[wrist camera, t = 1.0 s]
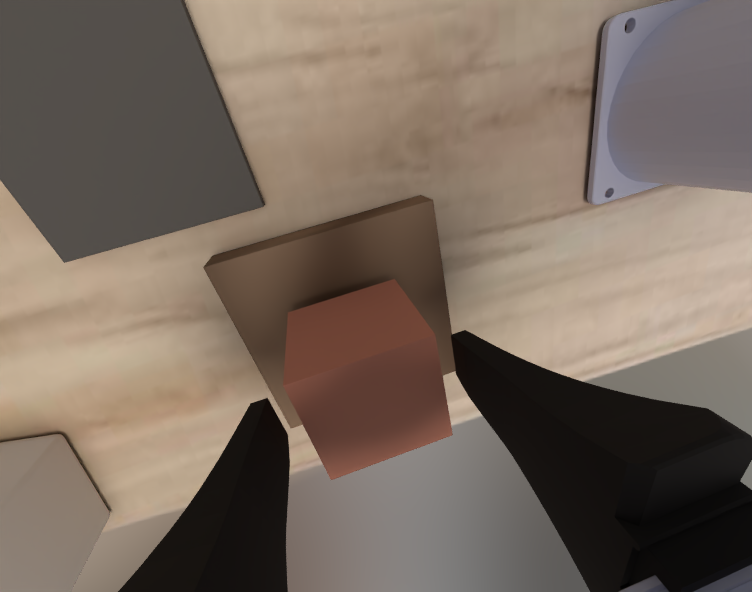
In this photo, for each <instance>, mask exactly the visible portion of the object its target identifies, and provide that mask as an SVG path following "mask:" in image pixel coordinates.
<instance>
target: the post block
mask: <svg viewBox="0 0 752 592" xmlns="http://www.w3.org/2000/svg"><path fill="white" fill-rule="evenodd" d="M203 268H204V270H205V271H206V273H207V275H208V277H209V279H210V281H211V282H212V284H213V286H214V288H215V290H216V292H217V293H218V295H219V297H220V299H221V301H222V303H223V304H224V306H225V308H226V310H227V312H228V314H229V315H230V317H231V319H232V321H233V323H234V325H235V327H236V328H237V330H238V332H239V334H240V336H241V338H242V339H243V341H244V343H245V345H246V347H247V349H248V350H249V352H250V354H251V356H252V358H253V360H254V361H255V363H256V365H257V367H258V369H259V371H260V373H261V374H262V376H263V378H264V380H265V382H266V384H267V385H268V387H269V389H270V391H271V393H272V395H273V396H274V398H275V400H276V402H277V404H278V406H279V407H280V409H281V411H282V413H283V415H284V417H285V418H286V420H287V422H288V424H289V426H290V428H294V427H297V426H300V425H302V422H301V420H300V418H299V416H298V414H297V412H296V410H295V408H294V406H293V404H292V402H291V400H290V398H289V396H288V394H287V393H286V391H285V389H284V387H283V380H284V365H285V350H286V335H287V320H288V312H291V311H294V310H297V309H300V308H304V307H307V306H310V305H313V304H316V303H319V302H323V301H326V300H329V299H332V298H335V297H338V296H342V295H345V294H348V293H351V292H354V291H358V290H361V289H364V288H367V287H370V286H373V285H377V284H380V283H383V282H386V281H389V280H392V279H395V280H396V281H397V283H398V284H399V286H400V287H401V288H402V290H403V291H404V292H405V294H406V295H407V296H408V298H409V299H410V301H411V302H412V303H413V305H414V306H415V307H416V309H417V310H418V312H419V313H420V314H421V316H422V317H423V318H424V320H425V321H426V323H427V324H428V325H429V327H430V328H431V329H432V331H433V332H434V333H435V336H436V341H437V347H438V353H439V359H440V365H441V370H442V375H445V374H448V373H451V372H454V371H456V369H455V362H454V355H453V348H452V341H451V335H452V332H451V325H450V318H449V311H448V303H447V296H446V289H445V282H444V275H443V268H442V261H441V254H440V247H439V240H438V233H437V226H436V219H435V212H434V205H433V200H432V199H429V198H427V197H424V196H421V195H420V196H417V197H413V198H410V199H407V200H403V201H400V202H396V203H393V204H389V205H386V206H382V207H379V208H376V209H372V210H369V211H365V212H362V213H358V214H355V215H352V216H348V217H345V218H341V219H338V220H334V221H331V222H328V223H324V224H321V225H317V226H314V227H310V228H307V229H303V230H300V231H297V232H293V233H290V234H286V235H283V236H279V237H276V238H273V239H269V240H266V241H262V242H259V243H255V244H252V245H249V246H245V247H242V248H238V249H235V250H231V251H228V252H225V253H221V254H218V255H214V256H212V257H211V258H210V260H209V261H208V262H207V263H206V265H205V266H204V267H203Z"/></svg>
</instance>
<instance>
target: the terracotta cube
mask: <svg viewBox="0 0 752 592" xmlns="http://www.w3.org/2000/svg"><path fill="white" fill-rule="evenodd" d="M283 387H284V389H285V391H286V393H287V394H288V396H289V398H290V400H291V402H292V404H293V406H294V408H295V410H296V412H297V414H298V416H299V418H300V420H301V422H302V424H303V426H304V428H305V430H306V432H307V434H308V436H309V437H310V439H311V441H312V443H313V445H314V447H315V449H316V451H317V453H318V455H319V457H320V459H321V461H322V463H323V465H324V467H325V469H326V471H327V473H328V475H329V477H330V479H331V480H333V479H336V478H338V477H341V476H343V475H346V474H349V473H352V472H354V471H357V470H360V469H363V468H365V467H368V466H371V465H373V464H376V463H379V462H381V461H384V460H386V459H389V458H392V457H395V456H397V455H400V454H403V453H405V452H408V451H411V450H414V449H416V448H419V447H422V446H425V445H427V444H430V443H433V442H435V441H438V440H441V439H443V438H446V437H449V436H451V435H452V428H451V422H450V417H449V411H448V405H447V399H446V394H445V388H444V382H443V376H442V370H441V365H440V359H439V353H438V347H437V341H436V336H435V333H434V332H433V331H432V329H431V328H430V327H429V325H428V324H427V323H426V321H425V320H424V318H423V317H422V316H421V314H420V313H419V312H418V310H417V309H416V307H415V306H414V305H413V303H412V302H411V301H410V299H409V298H408V296H407V295H406V294H405V292H404V291H403V290H402V288H401V287H400V286H399V284H398V283H397V281H396V280H395V279H392V280H389V281H386V282H383V283H380V284H377V285H373V286H370V287H367V288H364V289H361V290H358V291H354V292H351V293H348V294H345V295H342V296H338V297H335V298H332V299H329V300H326V301H323V302H319V303H316V304H313V305H310V306H307V307H304V308H300V309H297V310H294V311H291V312H288V320H287V335H286V350H285V365H284V380H283Z"/></svg>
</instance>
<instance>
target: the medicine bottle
mask: <svg viewBox="0 0 752 592" xmlns="http://www.w3.org/2000/svg"><path fill="white" fill-rule="evenodd" d="M109 515H110V512H109V510H108V509H107V507H106V506H105V504H104V502H103V501H102V499H101V497H100V496H99V494H98V492H97V491H96V489H95V487H94V486H93V484H92V482H91V481H90V479H89V477H88V476H87V474H86V472H85V471H84V469H83V467H82V466H81V464H80V463H79V461H78V459H77V458H76V456H75V454H74V453H73V451H72V449H71V448H70V446H69V444H68V443H67V441H66V439H65V438H64V436H63V435H61V434H54V435H47V436H41V437H34V438H27V439H21V440H14V441H7V442H1V443H0V592H71V591H72V588H73V587H74V585H75V583H76V581H77V579H78V577H79V575H80V573H81V571H82V569H83V567H84V565H85V563H86V561H87V559H88V557H89V555H90V554H91V552H92V550H93V548H94V546H95V544H96V542H97V540H98V538H99V536H100V534H101V532H102V530H103V528H104V526H105V524H106V522H107V520H108V519H109Z"/></svg>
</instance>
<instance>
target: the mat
mask: <svg viewBox="0 0 752 592" xmlns="http://www.w3.org/2000/svg"><path fill="white" fill-rule="evenodd" d="M0 180H1V181H2V183H3V184H4V185H5V187H6V188H7V189H8V190H9V192H10V193H11V194H12V196H13V197H14V198H15V200H16V201H17V202H18V203H19V205H20V206H21V207H22V209H23V210H24V211H25V212H26V214H27V215H28V216H29V218H30V219H31V220H32V222H33V223H34V224H35V225H36V227H37V228H38V229H39V231H40V232H41V233H42V235H43V236H44V237H45V238H46V240H47V241H48V242H49V244H50V245H51V246H52V247H53V249H54V250H55V251H56V253H57V254H58V255H59V257H60V258H61V259H62V260H63V262H64V263H65V262H69V261H72V260H76V259H79V258H83V257H86V256H90V255H93V254H97V253H101V252H104V251H108V250H111V249H115V248H118V247H122V246H126V245H129V244H133V243H136V242H140V241H143V240H147V239H150V238H154V237H158V236H161V235H165V234H168V233H172V232H175V231H179V230H182V229H186V228H190V227H193V226H197V225H200V224H204V223H207V222H211V221H215V220H218V219H222V218H225V217H229V216H232V215H236V214H239V213H243V212H247V211H250V210H254V209H257V208H261V207H264V205H265V204H264V201H263V198H262V196H261V193H260V191H259V188H258V186H257V183H256V181H255V178H254V176H253V173H252V171H251V168H250V166H249V163H248V161H247V158H246V156H245V153H244V151H243V148H242V146H241V143H240V141H239V138H238V136H237V133H236V131H235V128H234V126H233V123H232V121H231V118H230V116H229V113H228V111H227V108H226V106H225V103H224V101H223V98H222V96H221V93H220V90H219V88H218V85H217V83H216V80H215V78H214V75H213V73H212V70H211V68H210V65H209V63H208V60H207V58H206V55H205V53H204V50H203V48H202V45H201V43H200V40H199V38H198V35H197V33H196V30H195V28H194V25H193V23H192V20H191V18H190V15H189V13H188V10H187V8H186V5H185V3H184V0H0Z"/></svg>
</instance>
